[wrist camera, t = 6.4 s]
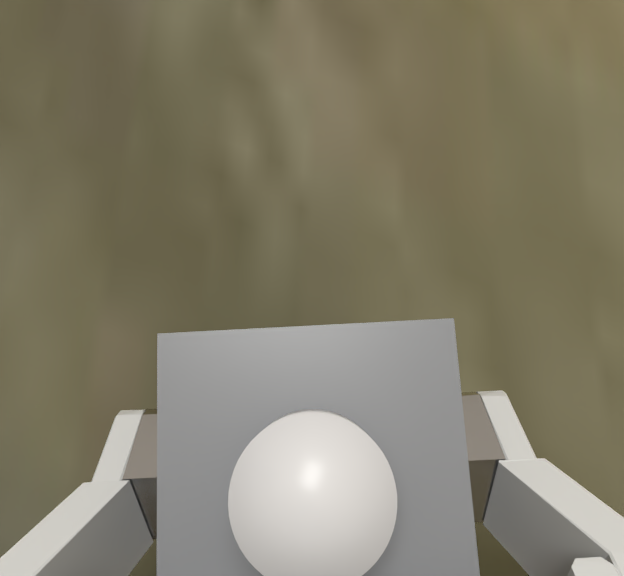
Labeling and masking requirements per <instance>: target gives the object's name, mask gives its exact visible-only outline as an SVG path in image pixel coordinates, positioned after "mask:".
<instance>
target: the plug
mask: <svg viewBox="0 0 624 576" xmlns="http://www.w3.org/2000/svg"><path fill="white" fill-rule="evenodd" d="M157 576H480V571H479V562H478V552H477V542H476V532H475V522H474V512H473V503H472V493H471V483H470V473H469V463H468V453H467V443H466V434H465V424H464V414H463V404H462V394H461V384H460V375H459V365H458V355H457V345H456V335H455V325H454V318H450V319H430V320H411V321H392V322H372V323H353V324H334V325H314V326H295V327H276V328H256V329H237V330H218V331H199V332H179V333H160V334H157Z"/></svg>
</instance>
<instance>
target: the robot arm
mask: <svg viewBox="0 0 624 576" xmlns="http://www.w3.org/2000/svg"><path fill="white" fill-rule="evenodd" d="M461 394H462V404H463V414H464V424H465V434H466V443H467V453H468V463H469V473H470V483H471V493H472V503H473V512H474V522H483V525H484V526H485V527H486V528H487V529H488V530H489V531H490V532H491V534H492V535H493V536H494V537H495V538H496V539H497V540H498V541H499V542H500V544H501V545H502V546H503V547H504V548H505V549H506V550H507V551H508V552H509V554H510V555H511V556H512V557H513V558H514V559H515V560H516V561H517V562H518V563H519V565H520V566H521V567H522V568H523V569H524V570H525V571H526V572H527V573H528V575H529V576H624V518H623V517H622V516H621V515H619V514H618V513H617V512H615V511H614V510H613V509H611V508H610V507H609V506H607V505H606V504H605V503H603V502H602V501H601V500H599V499H598V498H597V497H595V496H594V495H593V494H592V493H590V492H589V491H588V490H586V489H585V488H584V487H582V486H581V485H580V484H578V483H577V482H576V481H574V480H573V479H572V478H570V477H569V476H568V475H566V474H565V473H564V472H562V471H561V470H560V469H558V468H557V467H556V466H554V465H553V464H552V463H550V462H549V461H548V460H546V459H545V458H536V456H535V453H534V451H533V449H532V447H531V445H530V443H529V441H528V439H527V436H526V434H525V432H524V430H523V428H522V426H521V424H520V421H519V419H518V417H517V415H516V413H515V411H514V409H513V407H512V404H511V402H510V400H509V398H508V396H507V394H506V393H505V392H504V391H503V390H500V391H483V392H465V393H461ZM153 539H157V409H146V410H121V411H120V412H119V413H118V415H117V416H116V417H115V419H114V422H113V425H112V427H111V430H110V433H109V435H108V438H107V441H106V444H105V446H104V449H103V452H102V454H101V457H100V460H99V462H98V465H97V468H96V471H95V473H94V476H93V479H92V481H91V482H86V483H82V484H81V485H80V486H79V487H78V488H77V489H76V490H75V491H74V492H73V493H71V494H70V495H69V496H68V497H67V498H66V499H65V500H64V501H63V502H62V503H60V504H59V505H58V506H57V507H56V508H55V509H54V510H53V511H52V512H50V513H49V514H48V515H47V516H46V517H45V518H44V519H43V520H42V521H41V522H39V523H38V524H37V525H36V526H35V527H34V528H33V529H32V530H31V531H30V532H28V533H27V534H26V535H25V536H24V537H23V538H22V539H21V540H20V541H19V542H17V543H16V544H15V545H14V546H13V547H12V548H11V549H10V550H9V551H7V552H6V553H5V554H4V555H3V556H2V557H1V558H0V576H128V575H129V574H130V573H131V571H132V570H133V569H134V567H135V566H136V565H137V563H138V562H139V561H140V559H141V558H142V557H143V555H144V554H145V553H146V551H147V550H148V549H149V547H150V546H151V545H152V543H153Z"/></svg>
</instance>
